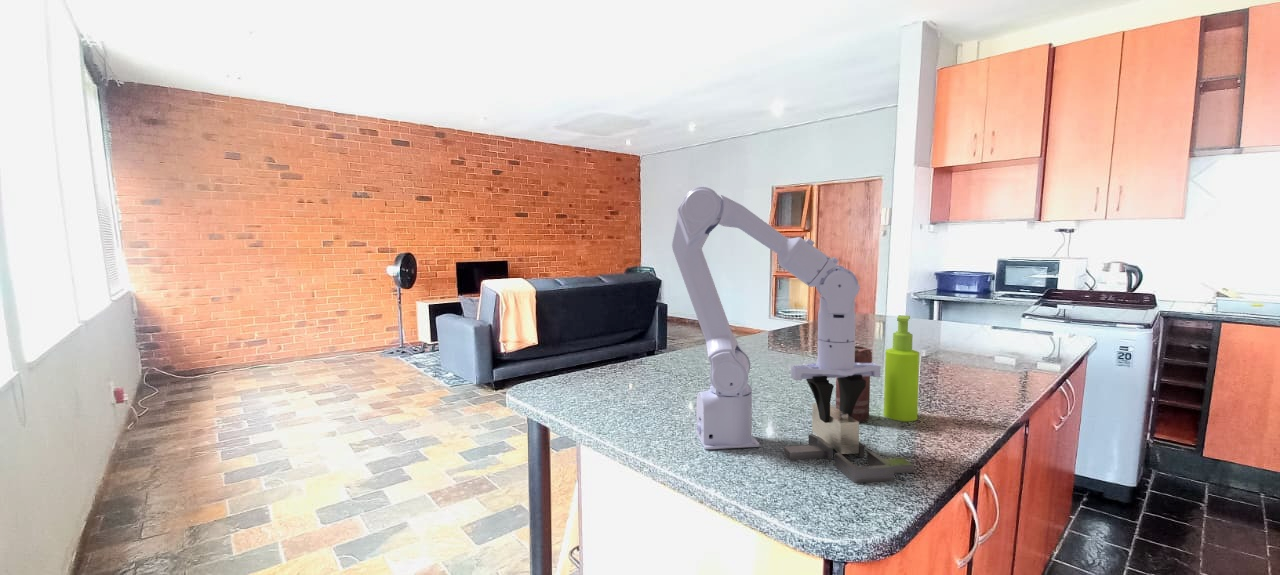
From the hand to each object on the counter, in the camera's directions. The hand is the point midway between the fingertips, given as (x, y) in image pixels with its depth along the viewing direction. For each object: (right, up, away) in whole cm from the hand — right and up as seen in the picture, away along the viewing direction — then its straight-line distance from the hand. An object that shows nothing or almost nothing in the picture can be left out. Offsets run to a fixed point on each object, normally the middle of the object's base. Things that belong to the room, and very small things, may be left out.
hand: (834, 420), depth 82 cm
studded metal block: (0, -4, 0) cm, 4 cm away
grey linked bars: (0, -5, -5) cm, 7 cm away
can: (+10, -4, +15) cm, 19 cm away
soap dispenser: (+20, -4, +16) cm, 26 cm away
